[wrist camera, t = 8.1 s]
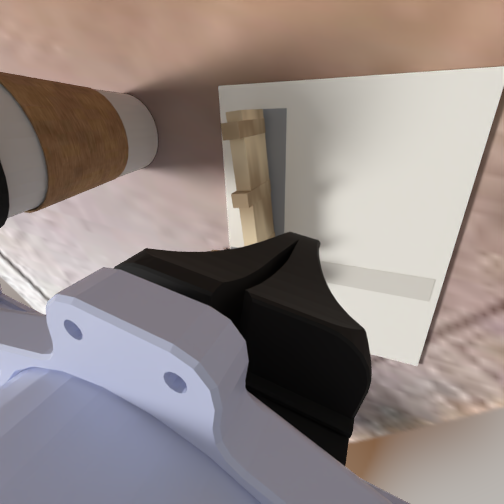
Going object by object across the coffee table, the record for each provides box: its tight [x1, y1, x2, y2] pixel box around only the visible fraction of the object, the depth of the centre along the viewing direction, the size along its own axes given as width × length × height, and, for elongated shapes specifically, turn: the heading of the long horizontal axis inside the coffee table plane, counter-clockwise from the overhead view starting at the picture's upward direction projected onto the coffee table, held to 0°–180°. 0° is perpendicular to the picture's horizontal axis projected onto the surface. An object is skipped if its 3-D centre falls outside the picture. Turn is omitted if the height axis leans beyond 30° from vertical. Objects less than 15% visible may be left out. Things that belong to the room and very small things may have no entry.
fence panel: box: [220, 109, 275, 246], centre depth 19 cm, size 10×1×4 cm, turn 8°
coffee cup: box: [0, 72, 158, 228], centre depth 19 cm, size 8×8×15 cm
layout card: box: [218, 66, 504, 366], centre depth 21 cm, size 20×16×1 cm
